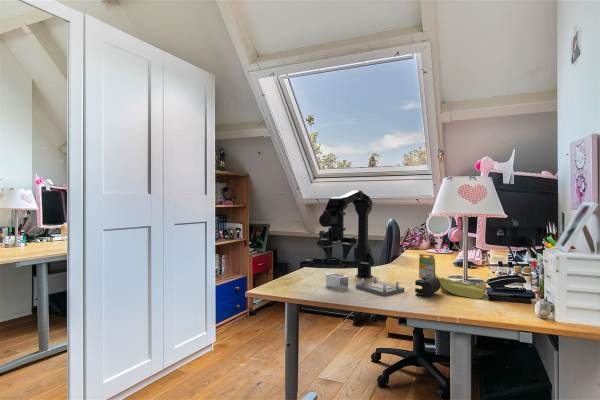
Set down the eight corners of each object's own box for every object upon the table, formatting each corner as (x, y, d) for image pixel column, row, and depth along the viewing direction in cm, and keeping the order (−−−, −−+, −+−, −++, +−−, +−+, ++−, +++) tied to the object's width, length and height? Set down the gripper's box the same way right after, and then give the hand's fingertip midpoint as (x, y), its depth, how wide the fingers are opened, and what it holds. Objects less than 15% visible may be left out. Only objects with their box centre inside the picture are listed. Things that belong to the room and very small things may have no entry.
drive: (334, 284, 167) (334, 272, 167) (348, 288, 160) (348, 276, 160) (326, 286, 164) (326, 273, 164) (339, 290, 157) (340, 277, 157)
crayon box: (435, 277, 183) (435, 254, 183) (433, 278, 180) (434, 255, 180) (420, 275, 187) (420, 253, 187) (418, 277, 184) (419, 254, 184)
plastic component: (486, 287, 153) (485, 281, 146) (484, 305, 151) (482, 300, 143) (437, 278, 164) (433, 272, 156) (434, 294, 161) (430, 289, 154)
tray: (375, 284, 168) (375, 275, 168) (404, 291, 155) (404, 282, 155) (355, 288, 160) (355, 279, 160) (384, 296, 148) (384, 286, 148)
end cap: (431, 299, 144) (432, 282, 144) (414, 295, 149) (414, 279, 149) (440, 294, 152) (441, 277, 152) (424, 291, 156) (424, 275, 156)
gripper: (340, 223, 174) (340, 256, 174) (309, 225, 163) (309, 260, 163) (357, 225, 165) (356, 259, 165) (325, 227, 154) (325, 264, 154)
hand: (336, 260), depth 162 cm, fingers open, 9 cm apart
